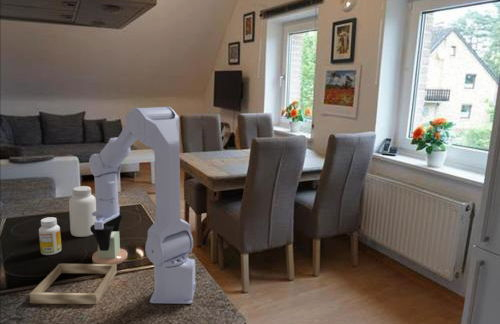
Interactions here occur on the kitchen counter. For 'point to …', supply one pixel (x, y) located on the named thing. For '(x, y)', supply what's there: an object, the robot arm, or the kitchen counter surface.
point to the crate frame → (73, 298)
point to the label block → (111, 247)
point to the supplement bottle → (49, 236)
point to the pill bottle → (82, 211)
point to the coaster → (117, 260)
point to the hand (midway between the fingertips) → (109, 244)
